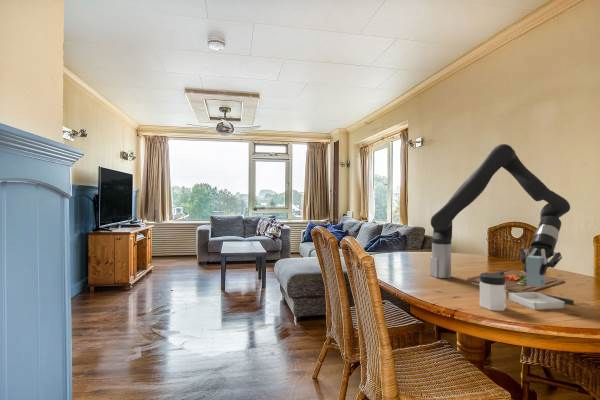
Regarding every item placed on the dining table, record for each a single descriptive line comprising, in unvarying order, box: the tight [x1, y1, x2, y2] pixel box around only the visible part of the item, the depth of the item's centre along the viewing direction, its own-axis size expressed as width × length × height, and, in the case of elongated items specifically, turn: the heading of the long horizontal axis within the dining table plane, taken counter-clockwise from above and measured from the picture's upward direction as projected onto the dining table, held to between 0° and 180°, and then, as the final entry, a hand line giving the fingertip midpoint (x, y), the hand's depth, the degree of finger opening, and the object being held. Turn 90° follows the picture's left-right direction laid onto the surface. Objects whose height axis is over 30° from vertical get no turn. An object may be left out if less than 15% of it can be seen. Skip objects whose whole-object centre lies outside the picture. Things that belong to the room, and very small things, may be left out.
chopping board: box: [466, 269, 565, 293], centre depth 157 cm, size 45×27×3 cm, turn 120°
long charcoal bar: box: [539, 292, 575, 305], centre depth 127 cm, size 11×2×2 cm, turn 35°
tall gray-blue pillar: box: [526, 255, 546, 287], centre depth 124 cm, size 4×5×11 cm
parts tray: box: [507, 291, 566, 311], centre depth 124 cm, size 12×12×2 cm
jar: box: [479, 272, 507, 312], centre depth 120 cm, size 9×8×12 cm
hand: (533, 272), depth 123 cm, fingers closed on tall gray-blue pillar, 4 cm apart
